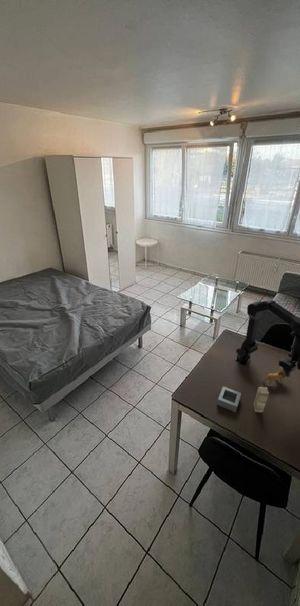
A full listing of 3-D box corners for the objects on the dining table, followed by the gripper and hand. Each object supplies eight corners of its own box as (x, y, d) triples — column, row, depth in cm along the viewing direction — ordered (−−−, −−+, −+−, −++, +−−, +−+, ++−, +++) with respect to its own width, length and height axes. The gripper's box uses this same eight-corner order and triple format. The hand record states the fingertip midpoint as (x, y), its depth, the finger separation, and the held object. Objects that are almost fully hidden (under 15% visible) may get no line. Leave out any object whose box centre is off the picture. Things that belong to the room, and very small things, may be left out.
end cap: (221, 391, 131) (223, 386, 129) (239, 398, 128) (241, 393, 126) (216, 404, 125) (218, 399, 123) (235, 412, 121) (237, 406, 119)
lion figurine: (279, 374, 142) (283, 362, 137) (287, 381, 137) (291, 368, 133) (259, 383, 136) (263, 371, 132) (267, 390, 132) (271, 378, 127)
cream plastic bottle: (253, 405, 124) (258, 386, 118) (260, 406, 124) (266, 387, 117) (255, 411, 121) (261, 392, 115) (262, 412, 121) (269, 393, 114)
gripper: (305, 363, 106) (297, 391, 113) (329, 348, 115) (321, 374, 121) (280, 350, 115) (275, 376, 122) (305, 336, 123) (298, 362, 130)
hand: (293, 372), depth 124 cm, fingers open, 9 cm apart
